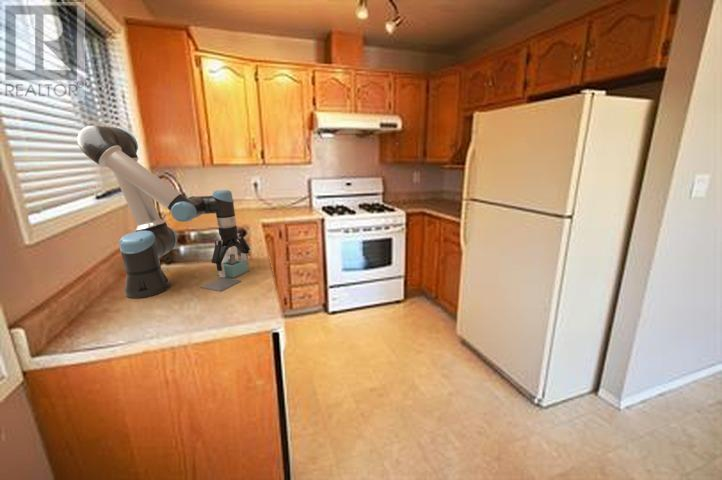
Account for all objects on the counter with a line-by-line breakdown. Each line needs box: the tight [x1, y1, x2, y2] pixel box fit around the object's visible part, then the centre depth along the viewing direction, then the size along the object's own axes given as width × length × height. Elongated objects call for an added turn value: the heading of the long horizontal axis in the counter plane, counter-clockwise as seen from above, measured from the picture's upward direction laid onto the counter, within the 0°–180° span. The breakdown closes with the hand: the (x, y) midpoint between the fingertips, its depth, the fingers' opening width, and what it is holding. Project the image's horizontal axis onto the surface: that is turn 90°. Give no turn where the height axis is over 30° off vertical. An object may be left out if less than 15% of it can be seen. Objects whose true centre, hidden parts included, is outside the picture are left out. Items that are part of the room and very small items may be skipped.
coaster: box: [200, 277, 242, 293], centre depth 133 cm, size 11×11×1 cm
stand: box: [216, 254, 250, 279], centre depth 145 cm, size 10×10×9 cm
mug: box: [222, 246, 239, 263], centre depth 158 cm, size 12×8×12 cm
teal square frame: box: [217, 258, 249, 279], centre depth 145 cm, size 9×9×5 cm
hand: (234, 272), depth 146 cm, fingers open, 13 cm apart
